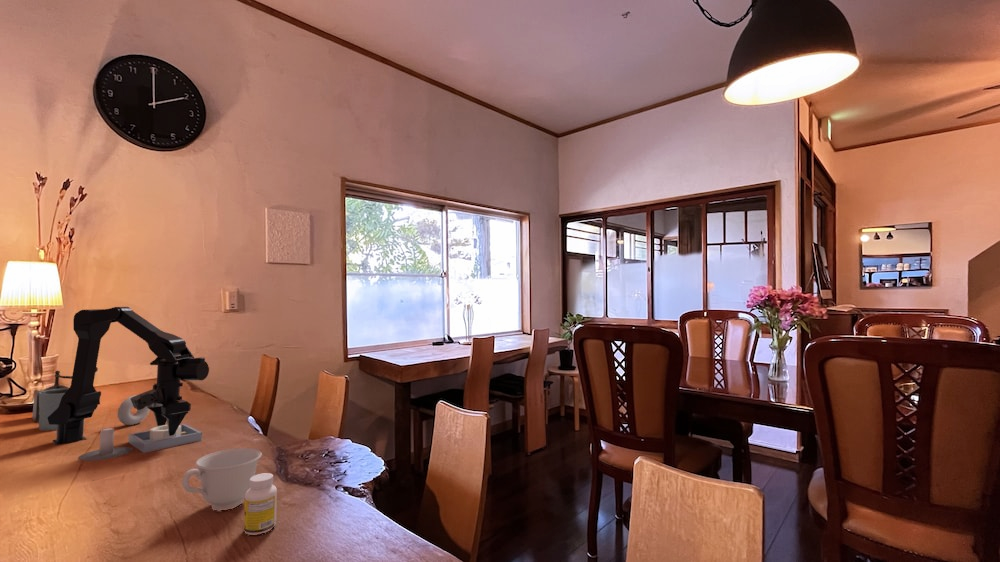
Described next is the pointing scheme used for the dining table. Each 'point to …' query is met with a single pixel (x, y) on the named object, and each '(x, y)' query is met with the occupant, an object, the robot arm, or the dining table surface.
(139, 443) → the tray
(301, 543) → the dining table surface
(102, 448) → the stake
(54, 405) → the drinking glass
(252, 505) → the supplement bottle
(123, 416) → the donut
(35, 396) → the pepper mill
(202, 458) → the teacup
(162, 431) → the ring
